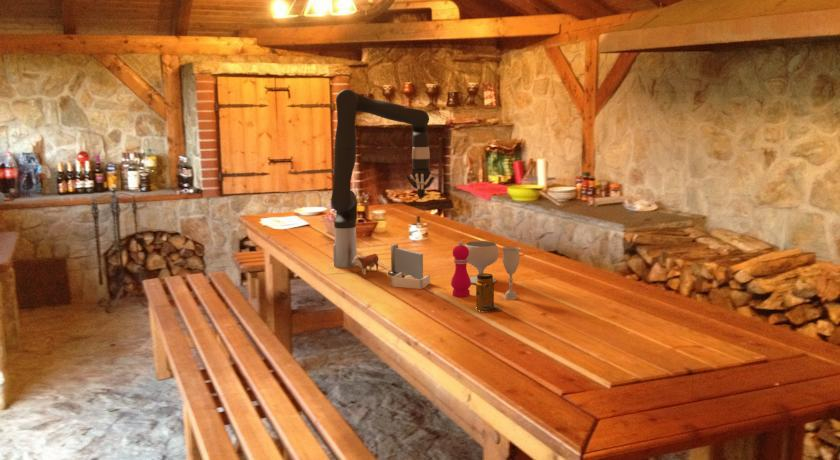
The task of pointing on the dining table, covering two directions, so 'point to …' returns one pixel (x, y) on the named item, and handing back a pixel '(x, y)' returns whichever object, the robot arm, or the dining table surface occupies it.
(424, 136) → the robot arm
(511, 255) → the chalice
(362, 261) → the bull figurine
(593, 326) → the dining table surface
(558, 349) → the dining table surface
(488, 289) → the condiment
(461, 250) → the pepper mill
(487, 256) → the chalice
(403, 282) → the pocket
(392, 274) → the lever base
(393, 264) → the paddle
